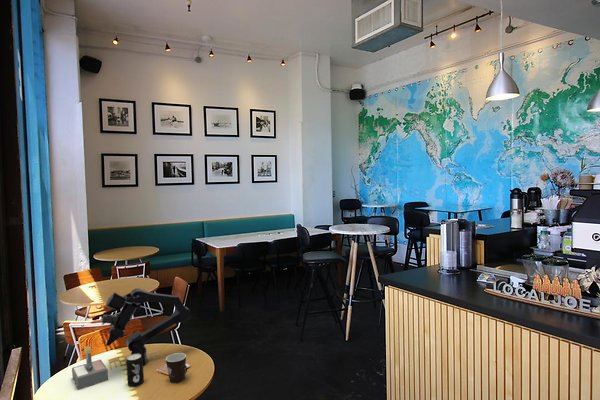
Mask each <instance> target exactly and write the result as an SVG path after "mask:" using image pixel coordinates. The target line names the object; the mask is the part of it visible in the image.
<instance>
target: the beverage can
mask: <svg viewBox="0 0 600 400" xmlns="http://www.w3.org/2000/svg"><path fill="white" fill-rule="evenodd" d="M125 363H126V366H125V367H126V377H127V385H128V386H130V387H138V386H141V385H142V384H143V383H144V381H145V376H144V375H145V374H144V366H143V359H142V357H141V354H133V355H131V354H130V355H128V356H127V357H126V361H125Z"/></svg>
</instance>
